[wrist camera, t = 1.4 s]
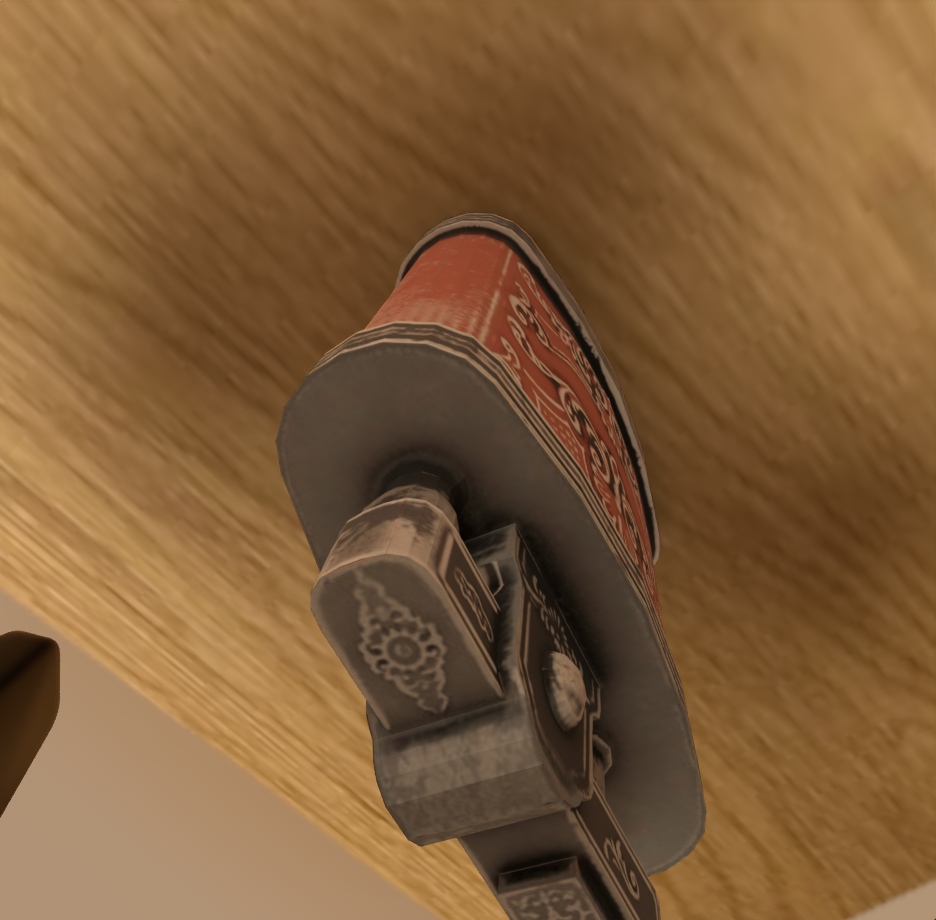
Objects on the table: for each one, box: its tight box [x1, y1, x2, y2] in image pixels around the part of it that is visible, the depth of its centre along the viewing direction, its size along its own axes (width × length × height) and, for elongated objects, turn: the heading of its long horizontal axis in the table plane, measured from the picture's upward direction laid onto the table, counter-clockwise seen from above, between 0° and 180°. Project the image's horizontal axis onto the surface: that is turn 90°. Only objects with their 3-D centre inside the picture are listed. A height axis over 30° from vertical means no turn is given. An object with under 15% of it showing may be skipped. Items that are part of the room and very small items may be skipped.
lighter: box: [276, 213, 706, 920], centre depth 12 cm, size 8×3×10 cm, turn 26°
